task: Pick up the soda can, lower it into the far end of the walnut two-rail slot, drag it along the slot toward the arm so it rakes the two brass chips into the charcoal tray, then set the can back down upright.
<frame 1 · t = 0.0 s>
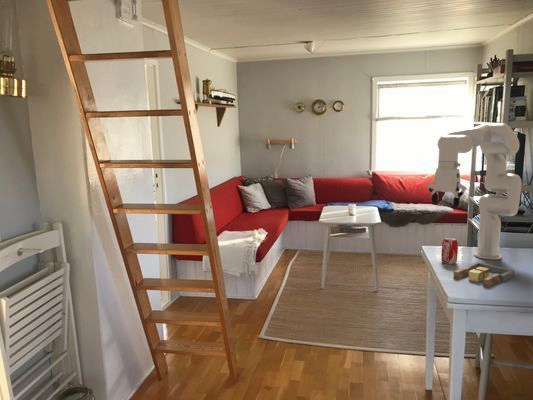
hand: (445, 205, 190), 31 cm above the table, fingers open, 9 cm apart
brass chip B: (481, 277, 192), on the table
soda can: (448, 263, 213), on the table
brass chip A: (475, 280, 188), on the table
chip tray: (489, 273, 197), on the table
slot rails: (476, 279, 189), on the table
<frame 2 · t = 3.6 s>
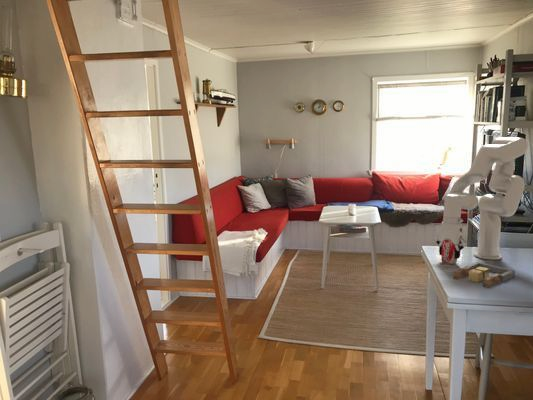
hand: (449, 256, 213), 3 cm above the table, fingers closed on soda can, 7 cm apart
soda can: (448, 263, 213), on the table, touching gripper
everything else where it was.
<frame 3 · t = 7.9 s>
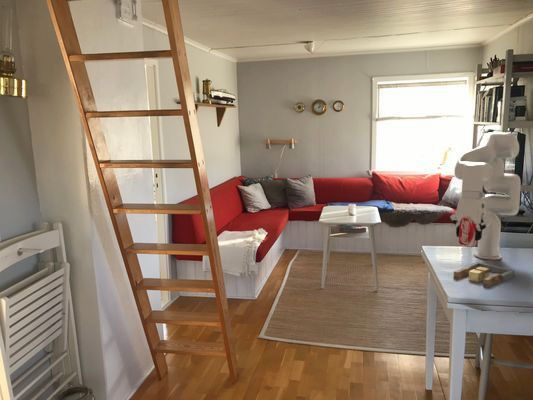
hand: (468, 237, 180), 20 cm above the table, fingers closed on soda can, 7 cm apart
soda can: (467, 246, 180), point 17 cm above the table, touching gripper
everything else where it was.
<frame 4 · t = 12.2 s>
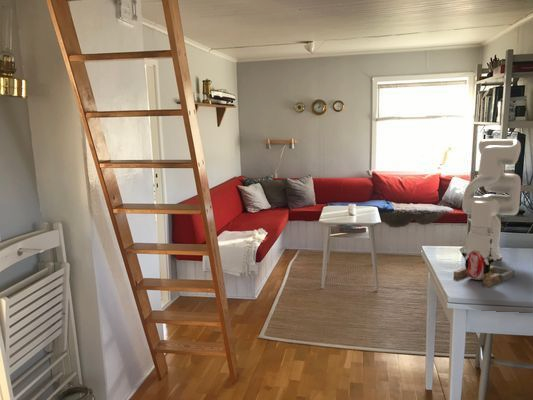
hand: (477, 270, 188), 4 cm above the table, fingers closed on soda can, 7 cm apart
brass chip B: (487, 275, 195), on the table, touching brass chip A
soda can: (476, 278, 189), point 1 cm above the table, touching brass chip A, gripper
brass chip A: (482, 277, 192), on the table, touching brass chip B, soda can
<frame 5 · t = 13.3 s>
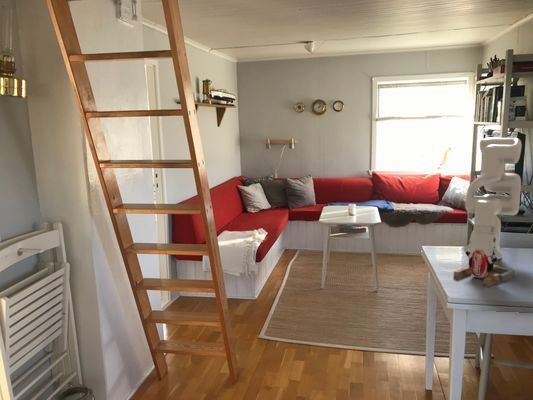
hand: (480, 269, 190), 4 cm above the table, fingers closed on soda can, 7 cm apart
brass chip B: (491, 274, 196), on the table
soda can: (479, 276, 191), point 1 cm above the table, touching gripper
brass chip A: (486, 275, 194), on the table
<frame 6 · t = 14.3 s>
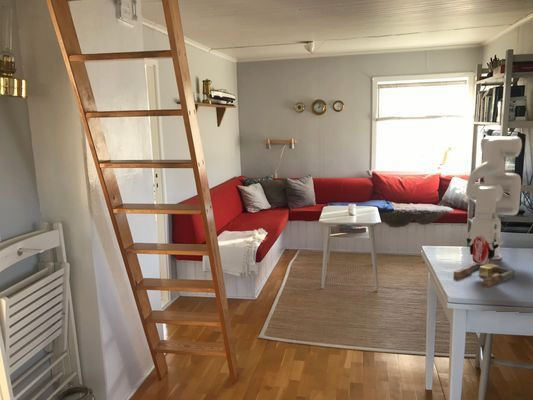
hand: (481, 255, 190), 10 cm above the table, fingers closed on soda can, 7 cm apart
soda can: (481, 263, 191), point 6 cm above the table, touching gripper
when the fingers open (5 cm above the table, at t = 20.2 s): soda can drops 1 cm, on the table.
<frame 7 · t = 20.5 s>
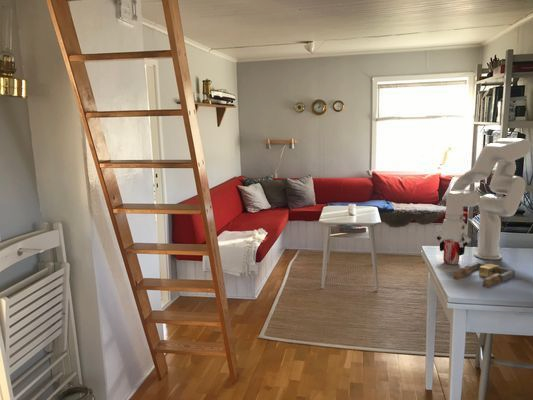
hand: (451, 252, 212), 5 cm above the table, fingers open, 9 cm apart
soda can: (450, 263, 212), on the table
everything else where it was.
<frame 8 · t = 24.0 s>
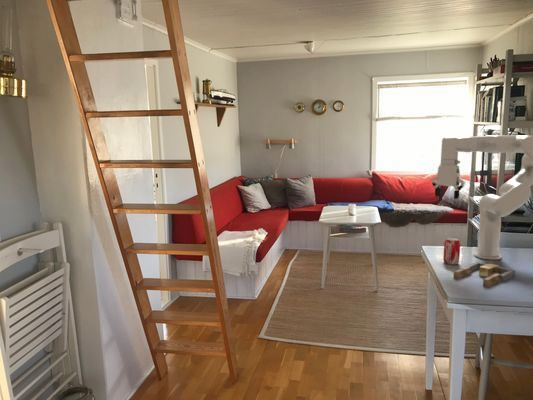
hand: (446, 197, 218), 30 cm above the table, fingers open, 9 cm apart
nothing on the table moved.
at the end: brass chip A inside the target area (2.5 cm from its centre), on the table; brass chip B inside the target area (2.1 cm from its centre), on the table; soda can tilted 0° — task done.
